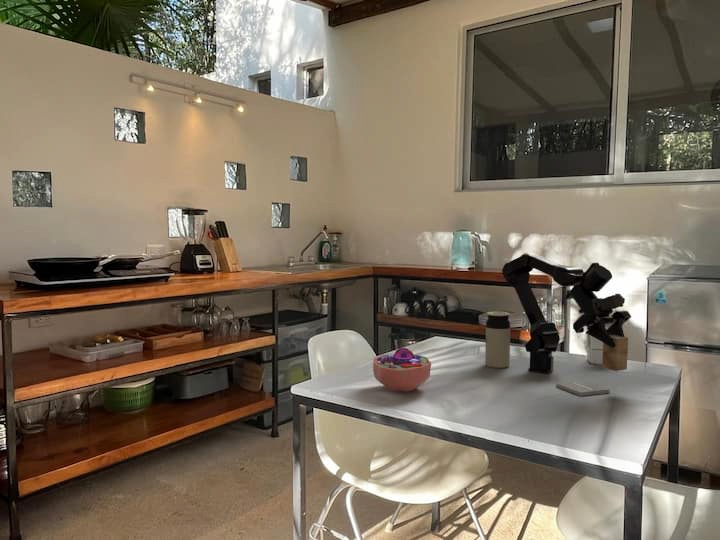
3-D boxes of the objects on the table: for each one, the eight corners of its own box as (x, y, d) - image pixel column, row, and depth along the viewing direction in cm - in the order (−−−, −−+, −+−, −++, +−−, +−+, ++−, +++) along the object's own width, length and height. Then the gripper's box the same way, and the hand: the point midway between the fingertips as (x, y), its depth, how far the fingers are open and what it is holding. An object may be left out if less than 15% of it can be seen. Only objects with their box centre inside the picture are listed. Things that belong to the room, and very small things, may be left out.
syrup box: (607, 364, 189) (609, 322, 188) (589, 363, 190) (590, 321, 189) (603, 360, 194) (605, 320, 194) (586, 360, 196) (587, 319, 195)
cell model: (362, 395, 151) (362, 354, 150) (384, 378, 169) (384, 342, 169) (422, 402, 145) (422, 359, 144) (438, 383, 164) (438, 345, 163)
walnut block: (602, 367, 155) (603, 335, 155) (612, 365, 157) (614, 334, 157) (616, 371, 151) (617, 338, 151) (626, 369, 153) (628, 337, 153)
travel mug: (512, 364, 188) (513, 312, 186) (505, 369, 181) (506, 315, 180) (489, 362, 192) (490, 310, 191) (481, 366, 185) (482, 313, 184)
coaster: (556, 386, 160) (556, 383, 160) (584, 383, 163) (584, 380, 163) (580, 396, 150) (580, 392, 150) (609, 392, 154) (609, 389, 154)
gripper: (583, 285, 152) (616, 331, 143) (626, 283, 161) (661, 326, 152) (559, 310, 159) (589, 355, 150) (602, 306, 168) (633, 349, 159)
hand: (619, 345), depth 153 cm, fingers closed on walnut block, 4 cm apart
